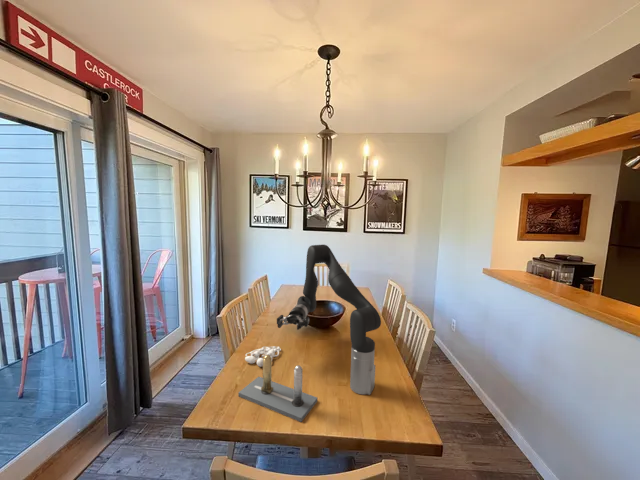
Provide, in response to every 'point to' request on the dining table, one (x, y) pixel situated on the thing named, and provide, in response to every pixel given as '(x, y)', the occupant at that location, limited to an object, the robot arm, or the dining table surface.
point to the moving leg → (267, 374)
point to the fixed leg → (298, 385)
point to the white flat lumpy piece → (268, 351)
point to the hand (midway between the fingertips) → (288, 326)
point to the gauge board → (278, 399)
